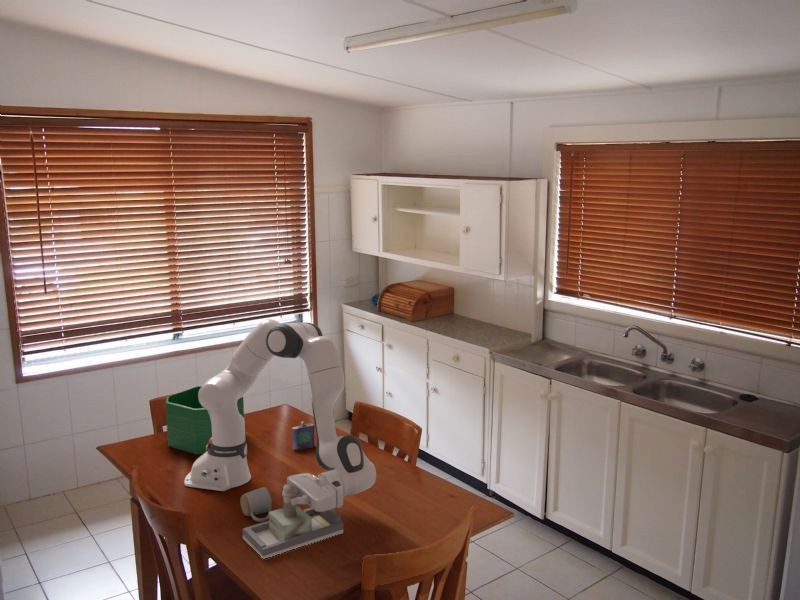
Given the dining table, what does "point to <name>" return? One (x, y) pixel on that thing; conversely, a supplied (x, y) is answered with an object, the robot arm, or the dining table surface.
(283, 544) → the tray
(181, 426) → the planter
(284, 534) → the block with upright post
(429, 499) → the dining table surface
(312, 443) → the flask
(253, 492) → the ceramic mug
